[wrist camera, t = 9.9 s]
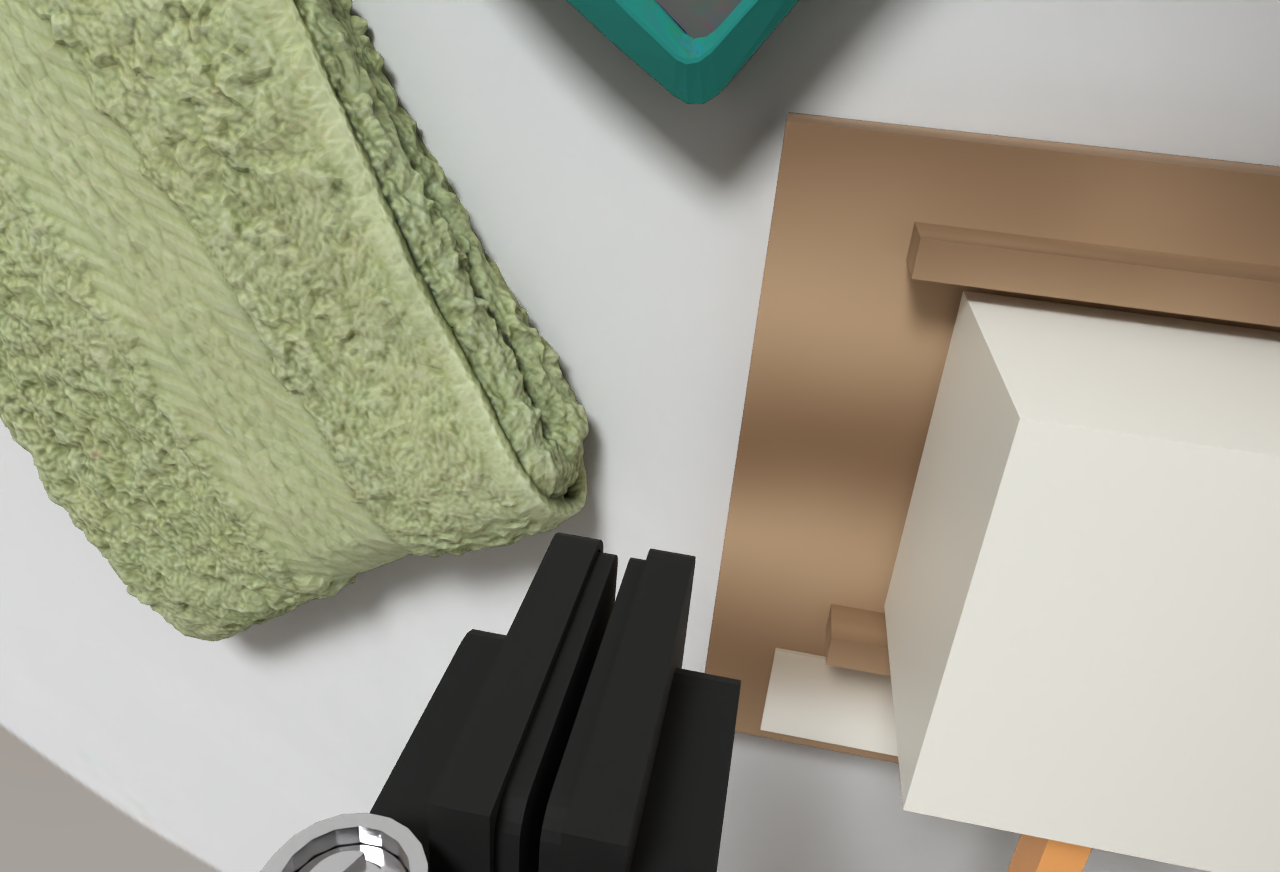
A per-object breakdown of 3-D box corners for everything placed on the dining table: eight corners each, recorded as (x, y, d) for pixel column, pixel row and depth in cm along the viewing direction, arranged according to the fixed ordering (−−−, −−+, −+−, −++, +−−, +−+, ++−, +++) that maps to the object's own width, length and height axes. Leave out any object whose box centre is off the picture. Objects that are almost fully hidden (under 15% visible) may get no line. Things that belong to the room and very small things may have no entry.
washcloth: (192, -387, 16) (52, -469, 13) (637, 469, 22) (608, 542, 19) (-240, -15, 20) (-415, -15, 17) (225, 614, 26) (150, 692, 23)
